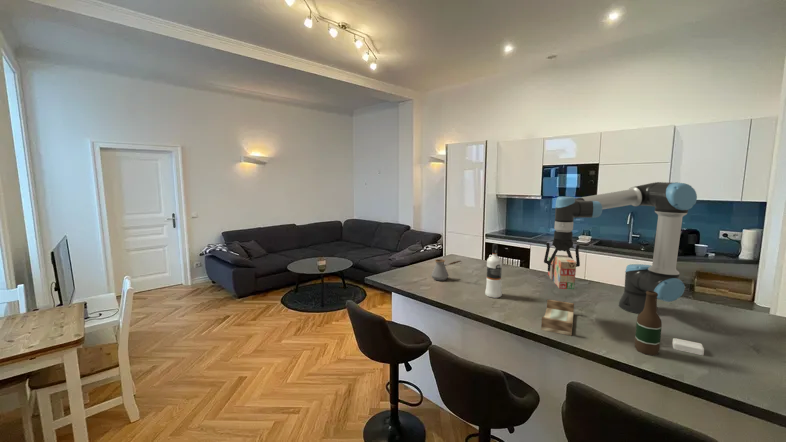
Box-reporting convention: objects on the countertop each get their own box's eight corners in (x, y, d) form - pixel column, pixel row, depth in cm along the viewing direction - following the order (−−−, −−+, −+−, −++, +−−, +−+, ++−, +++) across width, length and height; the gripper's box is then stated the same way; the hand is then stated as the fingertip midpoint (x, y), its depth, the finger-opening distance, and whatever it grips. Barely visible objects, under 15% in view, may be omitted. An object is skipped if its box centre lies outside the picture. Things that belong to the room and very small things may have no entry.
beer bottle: (648, 345, 136) (653, 288, 133) (664, 355, 128) (670, 295, 125) (629, 346, 135) (634, 288, 132) (644, 356, 128) (650, 295, 125)
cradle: (573, 314, 167) (574, 303, 166) (571, 335, 145) (572, 323, 144) (546, 309, 173) (547, 299, 172) (541, 329, 150) (541, 318, 150)
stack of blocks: (547, 274, 167) (548, 250, 166) (561, 275, 166) (562, 251, 165) (559, 288, 147) (560, 261, 145) (574, 289, 145) (576, 261, 144)
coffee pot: (428, 279, 225) (428, 257, 223) (436, 275, 234) (436, 254, 232) (456, 285, 212) (457, 262, 210) (465, 281, 221) (465, 258, 219)
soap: (673, 349, 133) (674, 342, 132) (672, 344, 137) (672, 337, 137) (703, 356, 128) (704, 349, 127) (701, 350, 132) (702, 343, 132)
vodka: (497, 292, 199) (499, 242, 195) (504, 297, 190) (506, 245, 186) (482, 293, 198) (483, 243, 194) (489, 298, 189) (490, 246, 185)
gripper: (538, 230, 155) (535, 278, 158) (589, 233, 145) (585, 284, 148) (540, 228, 161) (537, 274, 164) (589, 231, 151) (585, 280, 154)
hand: (560, 279), depth 156 cm, fingers closed on stack of blocks, 7 cm apart
